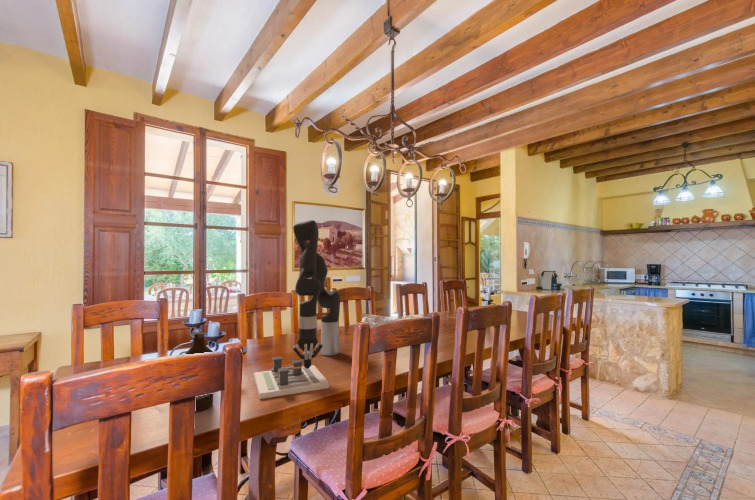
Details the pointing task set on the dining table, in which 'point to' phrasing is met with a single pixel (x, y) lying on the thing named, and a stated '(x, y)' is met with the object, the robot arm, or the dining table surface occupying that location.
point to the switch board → (288, 380)
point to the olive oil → (200, 347)
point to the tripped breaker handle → (297, 367)
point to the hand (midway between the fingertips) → (307, 367)
